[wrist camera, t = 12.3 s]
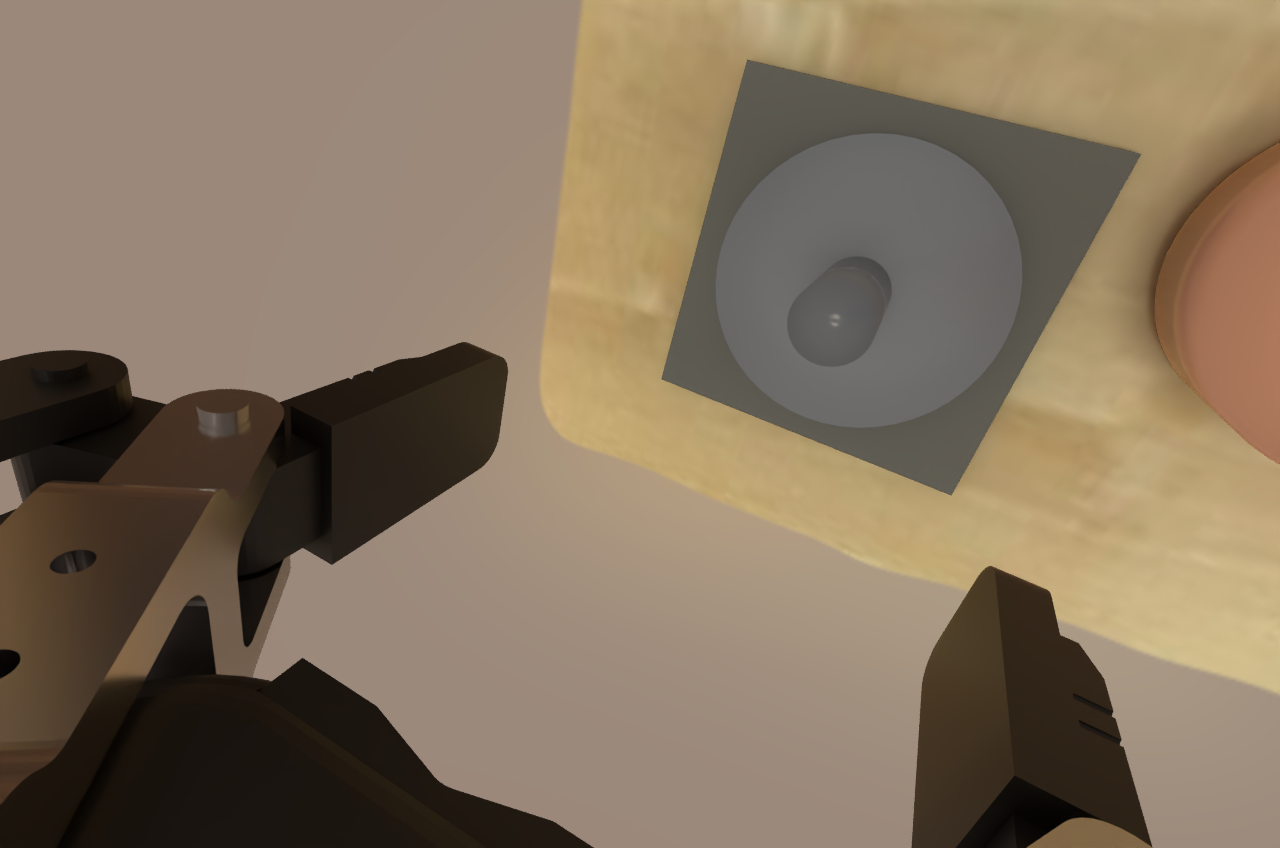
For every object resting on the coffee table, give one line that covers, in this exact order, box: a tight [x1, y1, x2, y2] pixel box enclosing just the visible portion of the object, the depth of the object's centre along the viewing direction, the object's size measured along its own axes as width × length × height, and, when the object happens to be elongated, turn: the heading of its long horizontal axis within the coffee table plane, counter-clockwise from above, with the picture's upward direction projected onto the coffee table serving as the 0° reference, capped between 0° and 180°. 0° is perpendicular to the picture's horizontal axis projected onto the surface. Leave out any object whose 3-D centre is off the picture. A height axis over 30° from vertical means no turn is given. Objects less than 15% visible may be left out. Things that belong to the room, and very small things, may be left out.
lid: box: [716, 133, 1022, 428], centre depth 23 cm, size 12×12×7 cm
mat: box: [662, 60, 1141, 495], centre depth 27 cm, size 14×14×1 cm
